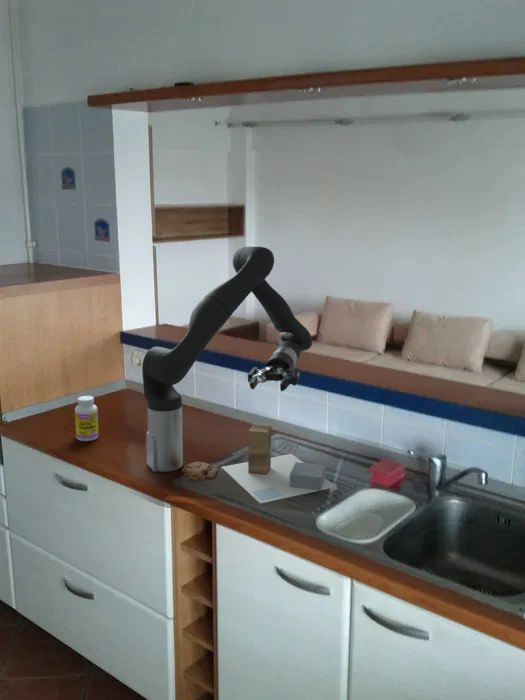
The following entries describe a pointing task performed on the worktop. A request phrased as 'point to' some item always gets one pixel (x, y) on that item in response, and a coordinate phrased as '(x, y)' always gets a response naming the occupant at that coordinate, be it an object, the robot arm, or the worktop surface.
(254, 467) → the walnut pillar
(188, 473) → the cookie
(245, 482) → the base board
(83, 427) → the supplement bottle
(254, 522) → the worktop surface
